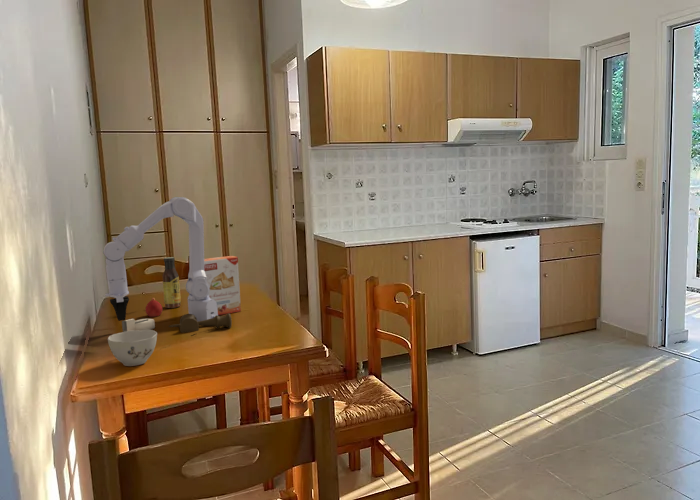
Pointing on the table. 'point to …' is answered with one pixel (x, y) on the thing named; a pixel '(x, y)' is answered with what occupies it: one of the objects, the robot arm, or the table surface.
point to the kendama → (202, 322)
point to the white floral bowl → (133, 346)
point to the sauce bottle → (171, 284)
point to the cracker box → (223, 283)
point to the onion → (153, 308)
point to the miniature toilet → (138, 324)
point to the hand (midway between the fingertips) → (121, 320)
